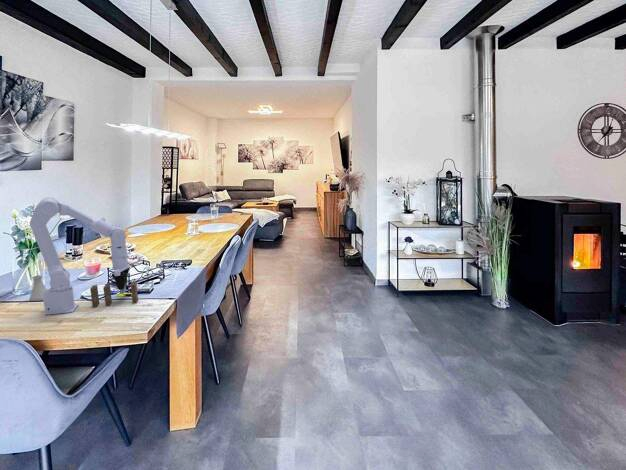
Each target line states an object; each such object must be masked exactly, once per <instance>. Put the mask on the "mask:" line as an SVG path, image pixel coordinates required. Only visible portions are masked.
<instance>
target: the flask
mask: <svg viewBox="0 0 626 470" xmlns="http://www.w3.org/2000/svg"><path fill="white" fill-rule="evenodd" d="M42 277H43V276H42V274H41V275H39V274H37V275H33V276H32V277H31V278H32V279H33V285H32V289H31V292H30V296H29V301H32V302H42V301H43V294H44V291H45V290H48V289H47V288H46V286H45V284H44V283H43V280H42V279H43V278H42Z"/></svg>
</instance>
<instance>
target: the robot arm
mask: <svg viewBox="0 0 626 470" xmlns="http://www.w3.org/2000/svg"><path fill="white" fill-rule="evenodd" d="M57 214H58V216H60V217H61V216H69V217H71V218H73V219H74V220H75V219H76V220H78V221H80V222H82V223H84V224H86V225H88V226H89V229H90V230H91V231H92V232H95V233H97V234H98V235H100V236H103V237H105V238H109V239H110V251H111V253H110V254H111V264H112V267H111V268H112V270H113V272H112V273H111V278H113V280H114V281H115V284H116V287H117V289H118V291H120V290H121V289H124V287H125V286H127V284H128V275H129V273H130V270H131V268H132V265H131V264H129V261H128V250H127V244H126V243H127V242H126V240H127V234H126V232H125V231H124V229H123V228H121V227H120V226H118V225H117V224H115V223H114V224H112V222H111V223H110V221H107V220H106V218H104V217H102V218H101V217H92V216H90V215H88V214H87V213H85V212H83V211H82V210H79V209H77V208H75V207H74V206H72V205H70V204H68V203H66V202H63V201H60V200H57V199H56V198H54V197H44V198H43V199H42V200H41V201H39V203H37V205H36V206H35V208H34V211H33V213H32V215H31V218H30V220H29V226H30V229H31V231H32V234H33V236H34V239H35V241H36V243H37V245H38V249H39V251H40V253H41V255H42V258H43V260H44V263H45V266H46V267H47V271H48V275H49V277H50V280H49V286H50V288H49V289H47V290H45V291H44V294H43V300H42V302H43V306H44V307H43V308H44V315H45V316H47V315H58V314H67V313H73V312H74V311H75V310H76V309H77V307H78V306H79V303H75V297H74V296H75V295H74V291H73V290H74V289H73V284H71V279H70V278H71V275H70V273H69V271H67V270H66V269H65V267H64V265H63V264H62V262H61V259H60V255H59V254H58V251H57V249H56V246H55V244H54V241H53V239H52V236H51V234H50V232H49V228H48V226H47V225H48V223H49V222H50V220H51V219H52V218H54V217H55V216H56V215H57Z"/></svg>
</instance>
